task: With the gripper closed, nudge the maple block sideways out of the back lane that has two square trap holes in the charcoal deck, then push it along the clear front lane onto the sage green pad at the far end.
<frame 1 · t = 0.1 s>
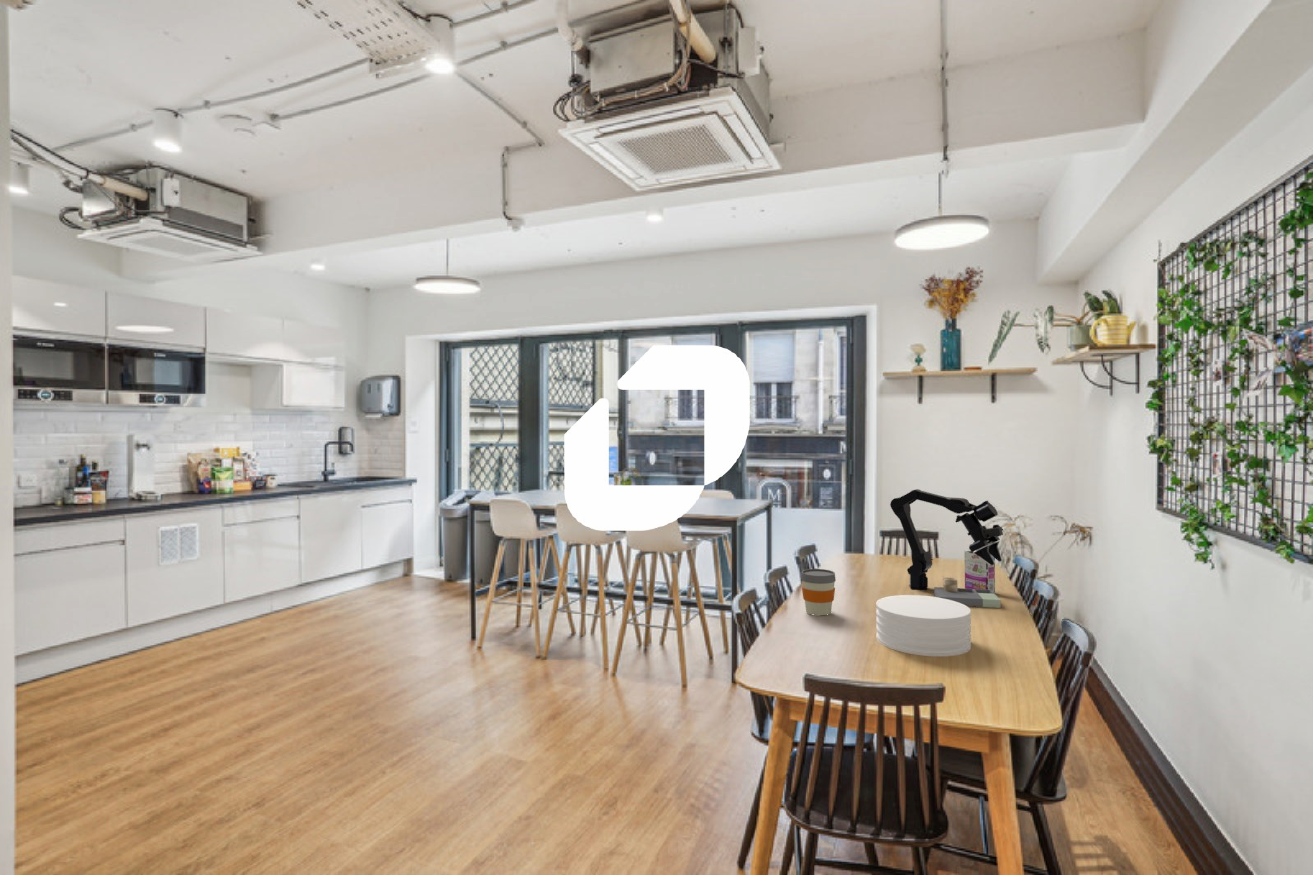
hand: (996, 562, 257), 15 cm above the table, tool tilted 30°, fingers open, 9 cm apart
reusable coffee cup: (818, 613, 244), on the table
trap deck: (965, 600, 257), on the table
plate stack: (922, 642, 210), on the table
maple block: (950, 590, 262), point 3 cm above the table, touching trap deck
candy bar box: (979, 591, 272), on the table
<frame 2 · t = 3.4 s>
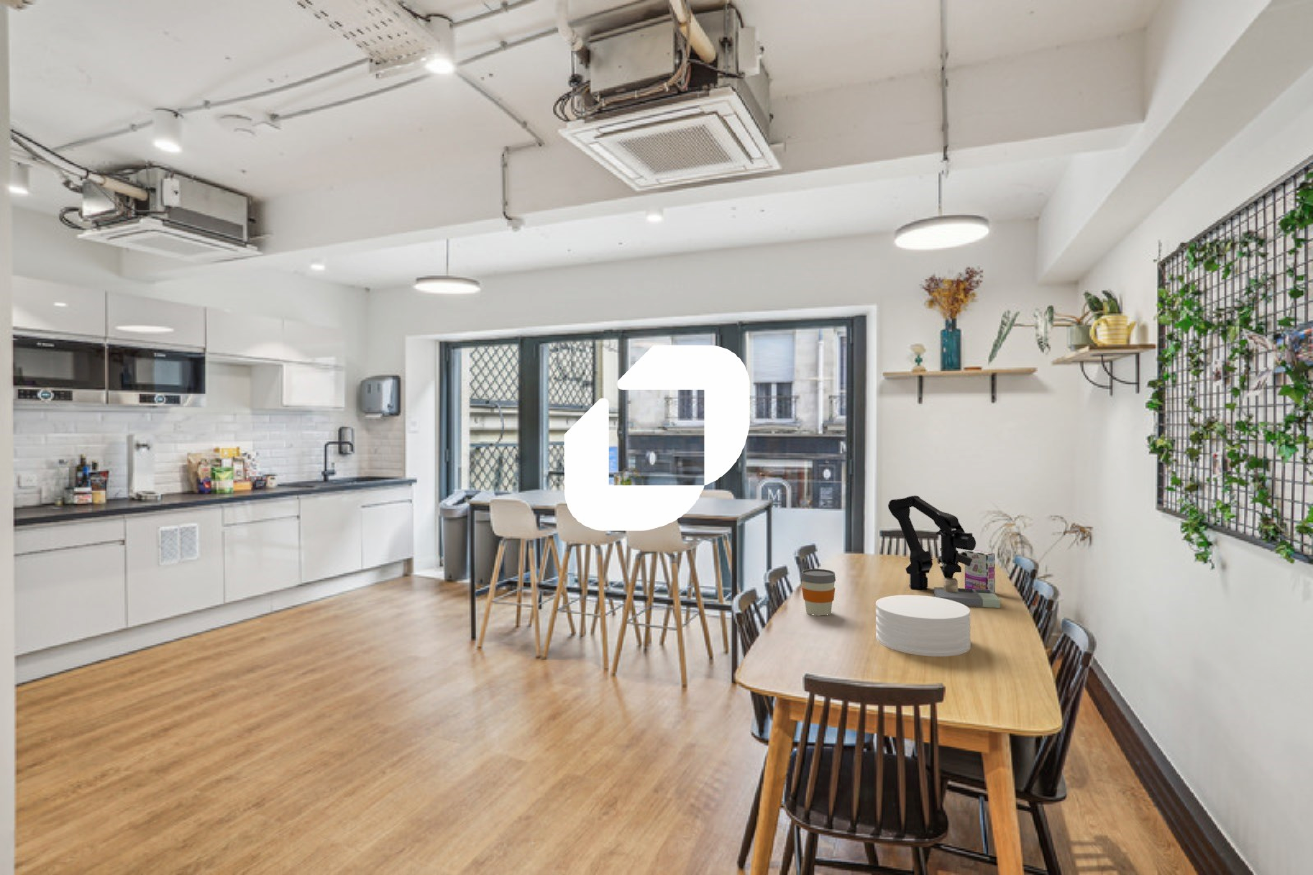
hand: (949, 585, 266), 4 cm above the table, tool pointing down, fingers closed
maple block: (950, 590, 262), point 3 cm above the table, touching gripper, trap deck
everything else where it was.
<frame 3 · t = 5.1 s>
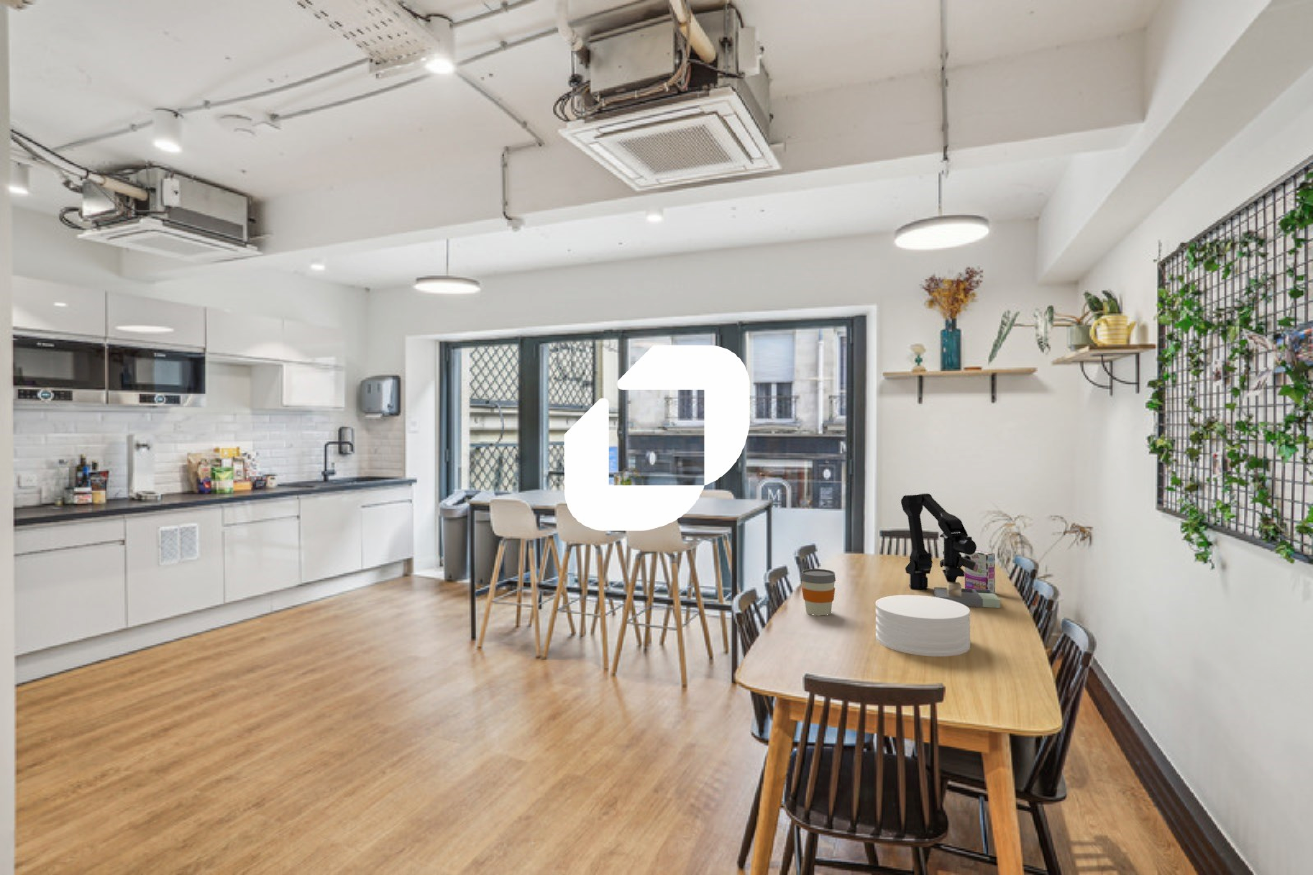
hand: (951, 589, 259), 4 cm above the table, tool pointing down, fingers closed
maple block: (954, 594, 255), point 3 cm above the table, touching gripper, trap deck
everything else where it was.
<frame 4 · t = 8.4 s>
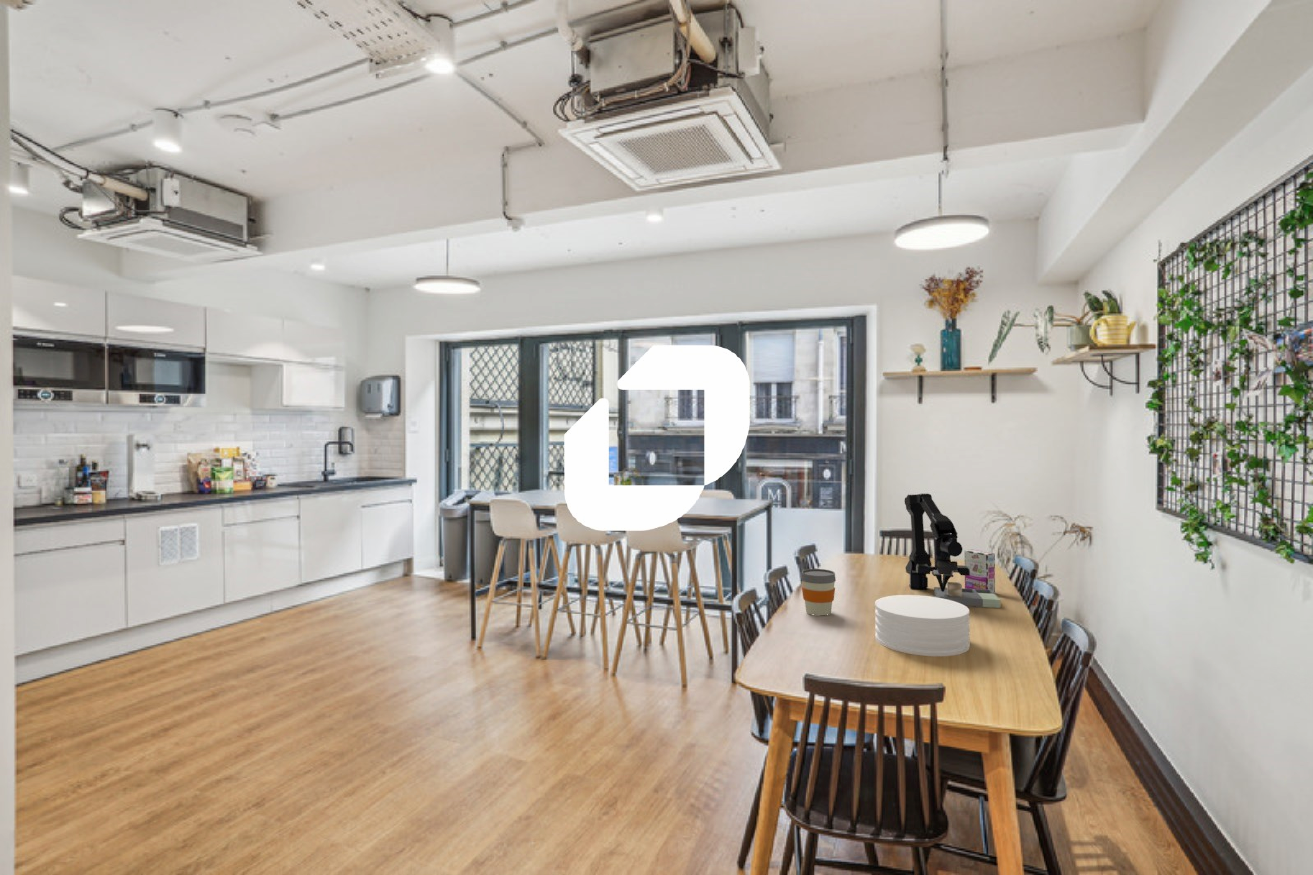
hand: (942, 591, 256), 4 cm above the table, tool pointing down, fingers closed
maple block: (954, 594, 255), point 3 cm above the table, touching gripper
everything else where it was.
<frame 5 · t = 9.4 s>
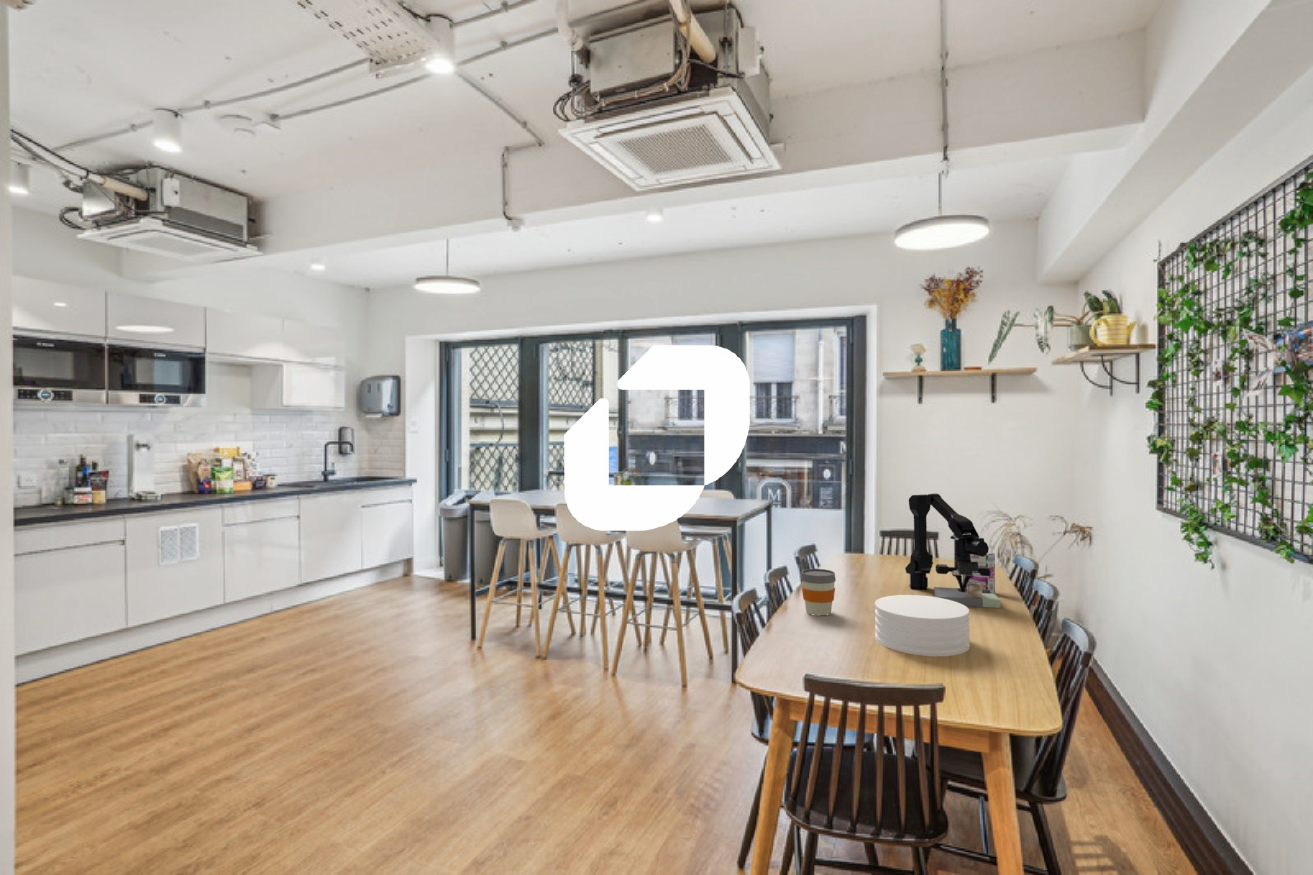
hand: (962, 592, 254), 4 cm above the table, tool pointing down, fingers closed
maple block: (974, 596, 253), point 3 cm above the table, touching gripper
everything else where it was.
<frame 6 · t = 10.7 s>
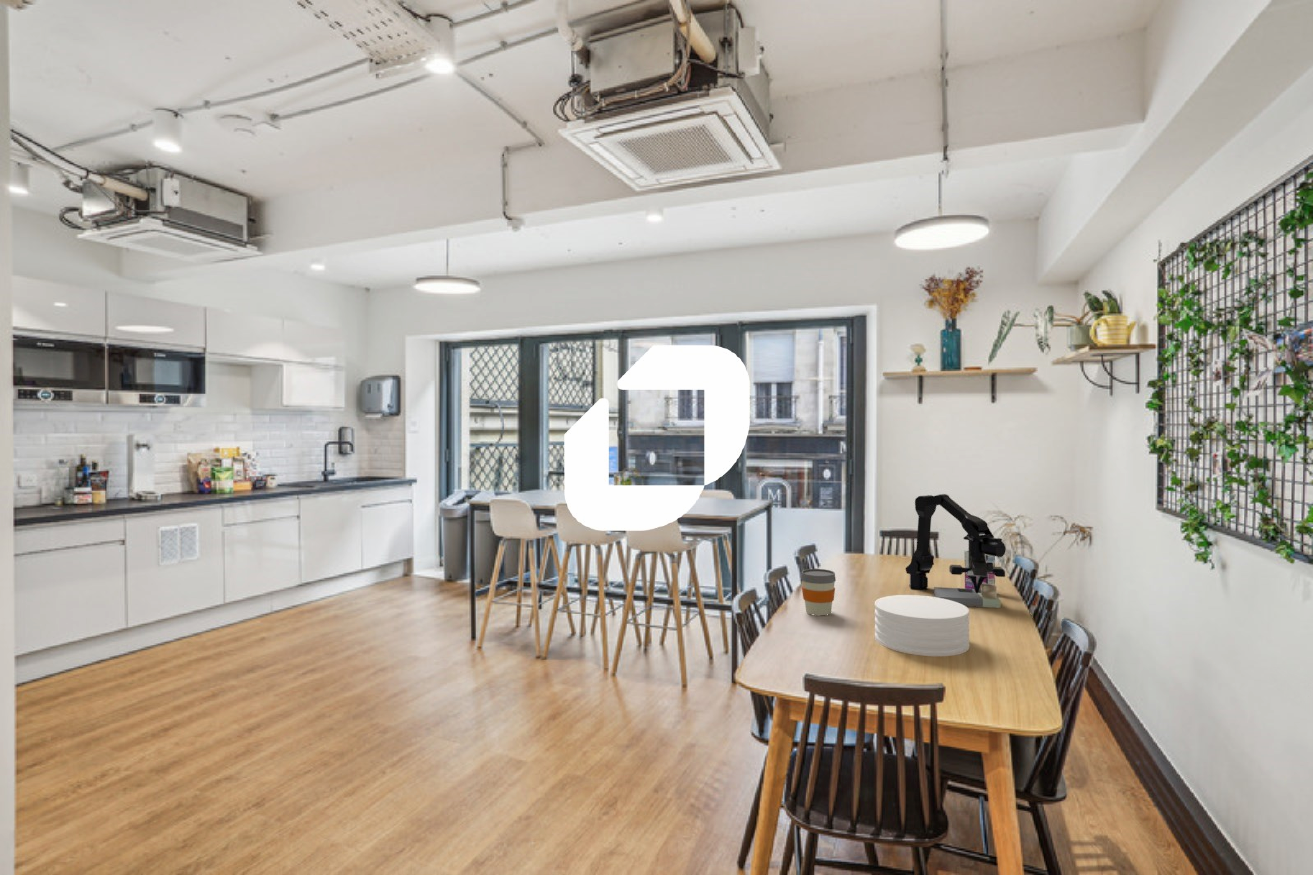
hand: (976, 593, 253), 4 cm above the table, tool pointing down, fingers closed
maple block: (988, 596, 252), point 3 cm above the table, touching gripper, trap deck
everything else where it was.
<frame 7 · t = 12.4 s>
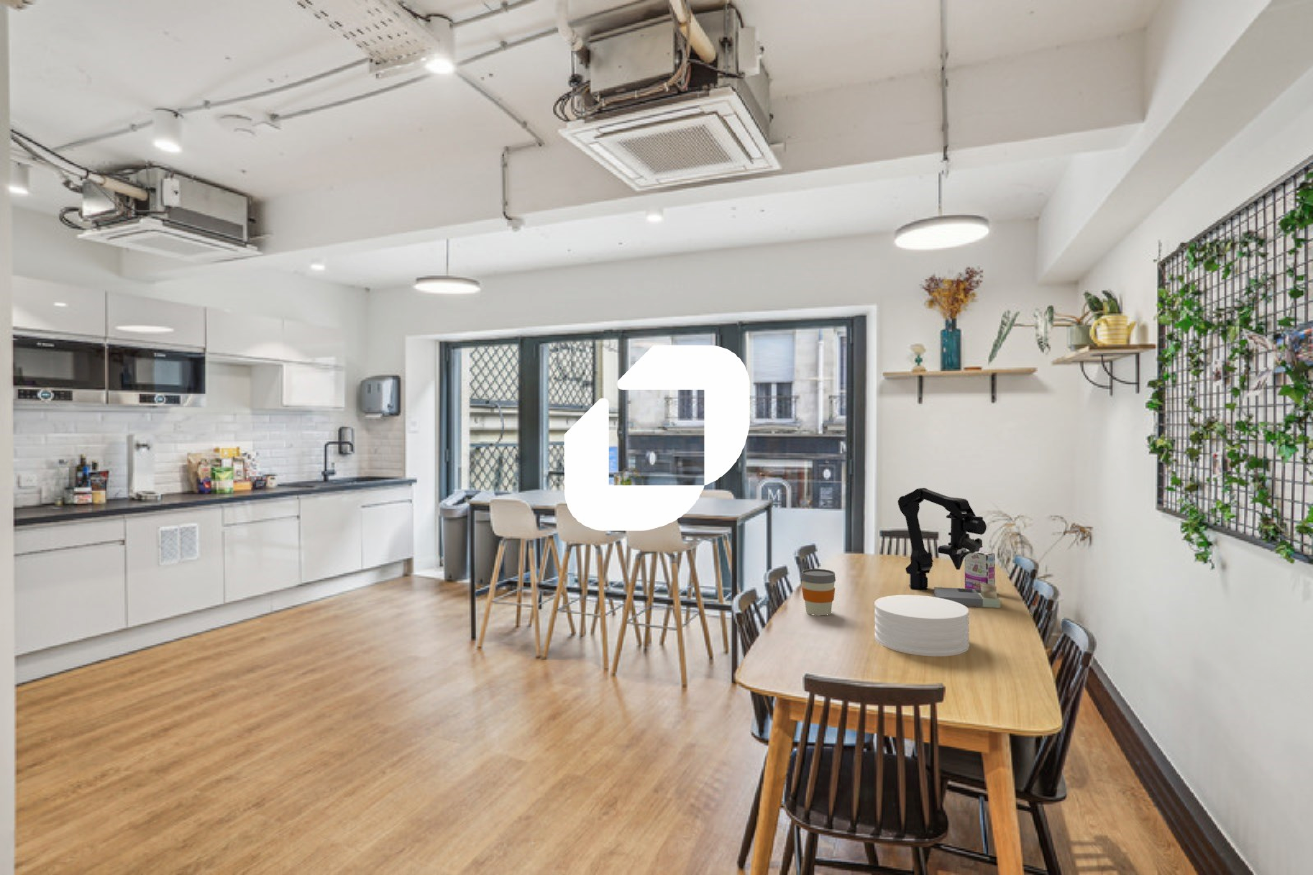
hand: (957, 569, 261), 12 cm above the table, tool pointing down, fingers closed
maple block: (988, 596, 252), point 3 cm above the table, touching trap deck
everything else where it was.
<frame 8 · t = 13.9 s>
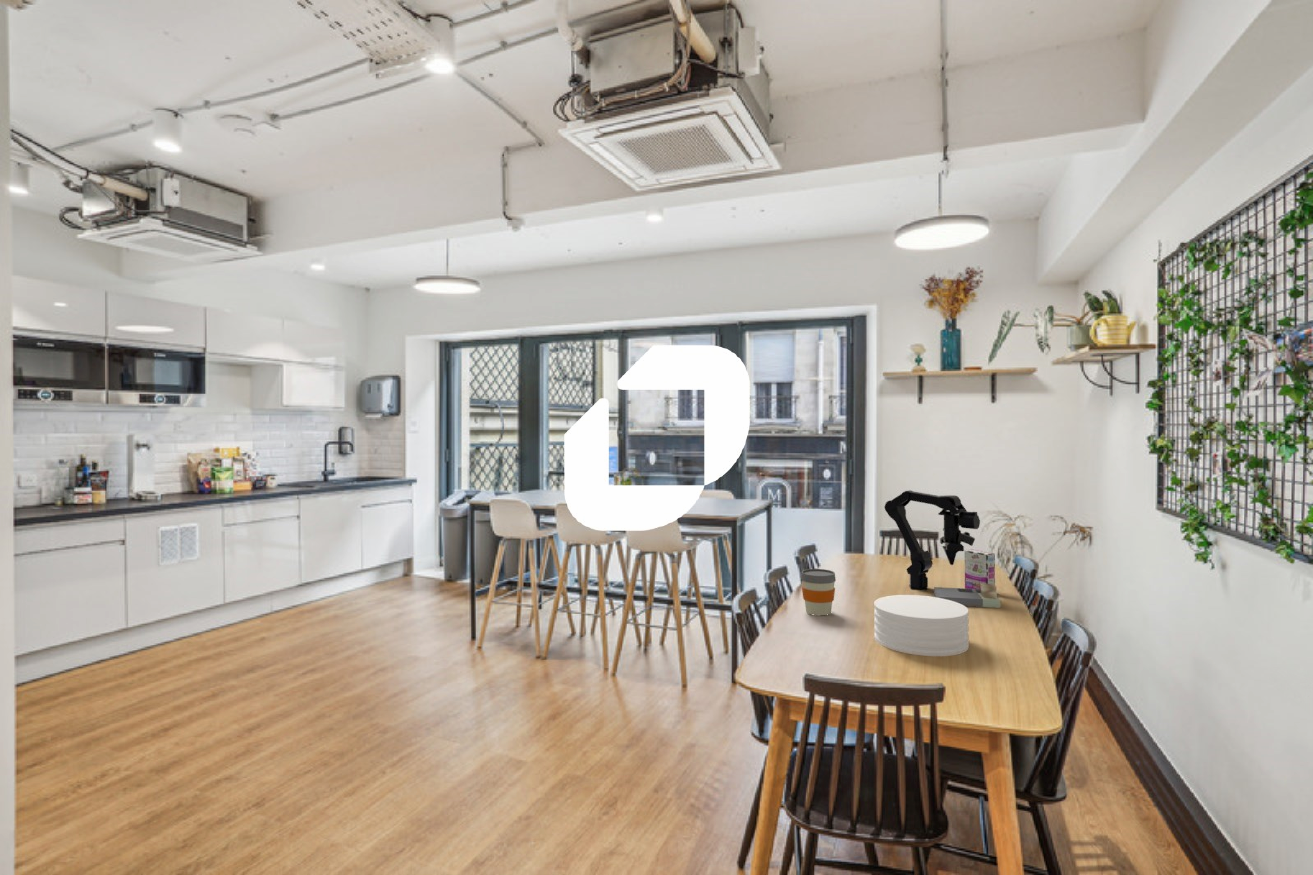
hand: (951, 564, 268), 12 cm above the table, tool pointing down, fingers closed
nothing on the table moved.
at the end: maple block inside the target area (0.7 cm from its centre), point 3.0 cm above the table; maple block tilted 0°; the gripper is holding nothing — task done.
